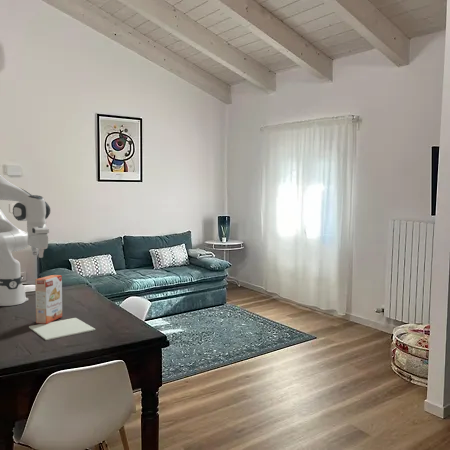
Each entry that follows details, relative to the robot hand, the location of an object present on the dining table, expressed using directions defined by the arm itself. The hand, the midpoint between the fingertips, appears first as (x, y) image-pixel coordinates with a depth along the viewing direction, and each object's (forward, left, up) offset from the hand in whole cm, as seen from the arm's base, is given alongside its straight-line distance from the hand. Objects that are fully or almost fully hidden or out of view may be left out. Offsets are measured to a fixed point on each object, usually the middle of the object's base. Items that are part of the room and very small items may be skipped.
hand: (37, 256), depth 231 cm
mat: (+29, 0, -30) cm, 41 cm away
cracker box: (+14, 0, -29) cm, 33 cm away
